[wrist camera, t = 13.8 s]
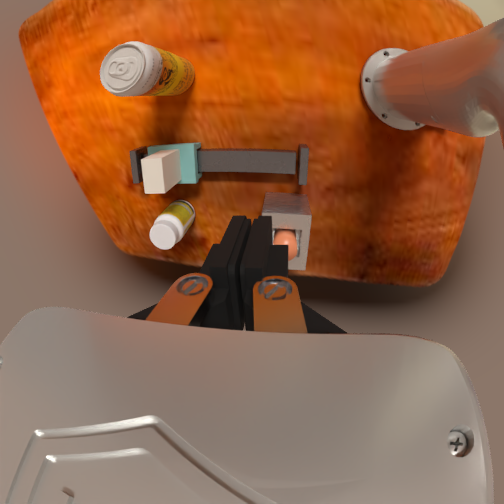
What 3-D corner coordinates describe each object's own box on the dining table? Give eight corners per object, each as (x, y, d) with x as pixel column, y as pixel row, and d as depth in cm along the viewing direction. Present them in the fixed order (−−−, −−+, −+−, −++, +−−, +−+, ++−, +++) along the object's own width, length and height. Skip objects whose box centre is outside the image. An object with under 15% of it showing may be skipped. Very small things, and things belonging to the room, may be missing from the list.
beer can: (189, 99, 33) (139, 100, 20) (153, 92, 33) (91, 94, 20) (201, 61, 30) (156, 41, 17) (163, 55, 30) (105, 40, 17)
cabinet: (306, 194, 39) (311, 215, 32) (302, 243, 43) (304, 271, 36) (266, 192, 40) (262, 212, 33) (264, 240, 44) (260, 268, 37)
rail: (306, 144, 35) (308, 148, 32) (304, 178, 38) (306, 185, 35) (141, 146, 37) (129, 151, 34) (144, 176, 40) (133, 183, 37)
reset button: (297, 226, 35) (298, 240, 32) (295, 246, 37) (296, 261, 33) (274, 224, 36) (273, 239, 32) (273, 244, 37) (272, 260, 34)
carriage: (200, 140, 36) (177, 151, 28) (202, 177, 39) (181, 197, 31) (156, 143, 37) (126, 156, 29) (159, 178, 40) (131, 198, 32)
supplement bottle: (167, 198, 42) (144, 220, 34) (194, 199, 41) (176, 221, 34) (170, 225, 44) (149, 251, 37) (196, 226, 44) (180, 253, 37)
